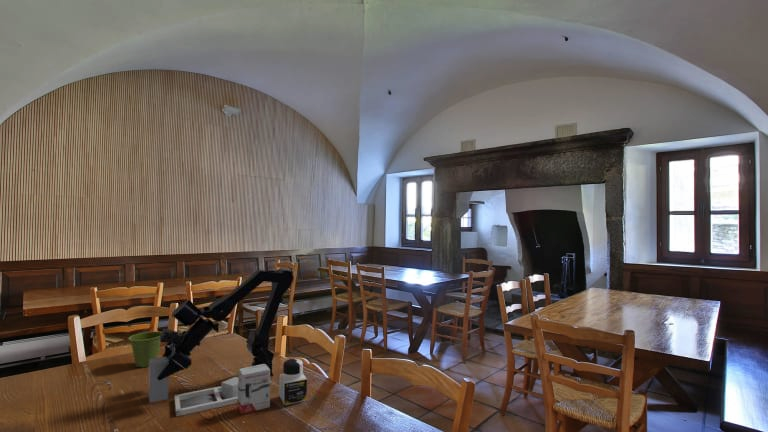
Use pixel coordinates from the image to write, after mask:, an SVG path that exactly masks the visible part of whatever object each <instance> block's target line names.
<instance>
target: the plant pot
mask: <svg viewBox="0 0 768 432" xmlns="http://www.w3.org/2000/svg"><path fill="white" fill-rule="evenodd" d="M161 333H162V331H157V330H156V331H145V332H139V333H136V334H133V335H130V336H129V337H128V340H129V342H130V346H131V348H132V354H133V357H134V362H135V367H137V368H139V367H140V368H146V367H147V368H149V359H155V358H159V355H160V354H159V353H160V349H161V343H162V341H160V338H159V337H160V335H161Z"/></svg>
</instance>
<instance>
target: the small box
mask: <svg viewBox="0 0 768 432" xmlns="http://www.w3.org/2000/svg"><path fill="white" fill-rule="evenodd" d="M220 393H221V394H220V396H221V399H229V398H233V397H238V376H234V377H231V378H229V379H227V380H224V381H222V382H221V392H220Z"/></svg>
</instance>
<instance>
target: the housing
mask: <svg viewBox="0 0 768 432" xmlns="http://www.w3.org/2000/svg"><path fill="white" fill-rule="evenodd" d="M220 393H221V386H214V387H209V388H206V389H205V388H204V389H200V390H196V391H189V392H184V393H179V394H175V395H174V406H175V407H174V409H175V416H176V418H177V417H180V416H185V415H186V416H187V415H190V414H195V413H199V412H203V411H208V410H213V409H219V408H221V407H226V406H231V405H235V404H238V397H233V398H229V399H225V398H222V397H221V394H220ZM212 395H213V396H212ZM181 401H182V403H181Z"/></svg>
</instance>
